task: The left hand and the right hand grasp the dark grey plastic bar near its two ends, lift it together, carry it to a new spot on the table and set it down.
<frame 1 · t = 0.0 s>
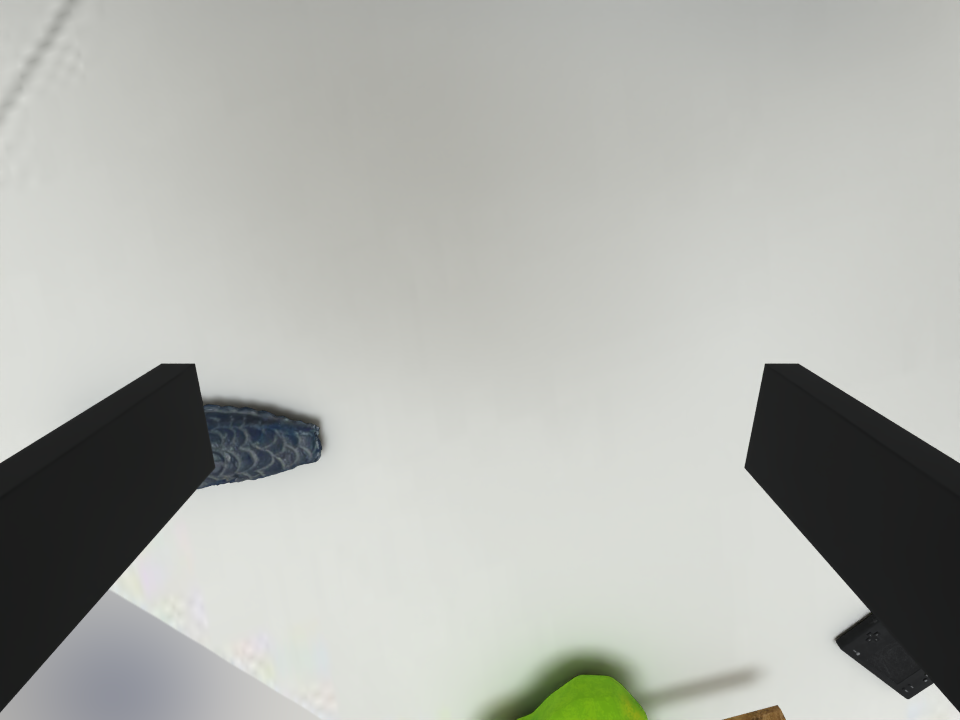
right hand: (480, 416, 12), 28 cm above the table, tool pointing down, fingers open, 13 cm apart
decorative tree: (611, 703, 55), on the table
handheld gaming console: (905, 637, 52), on the table
fish model: (201, 438, 44), on the table
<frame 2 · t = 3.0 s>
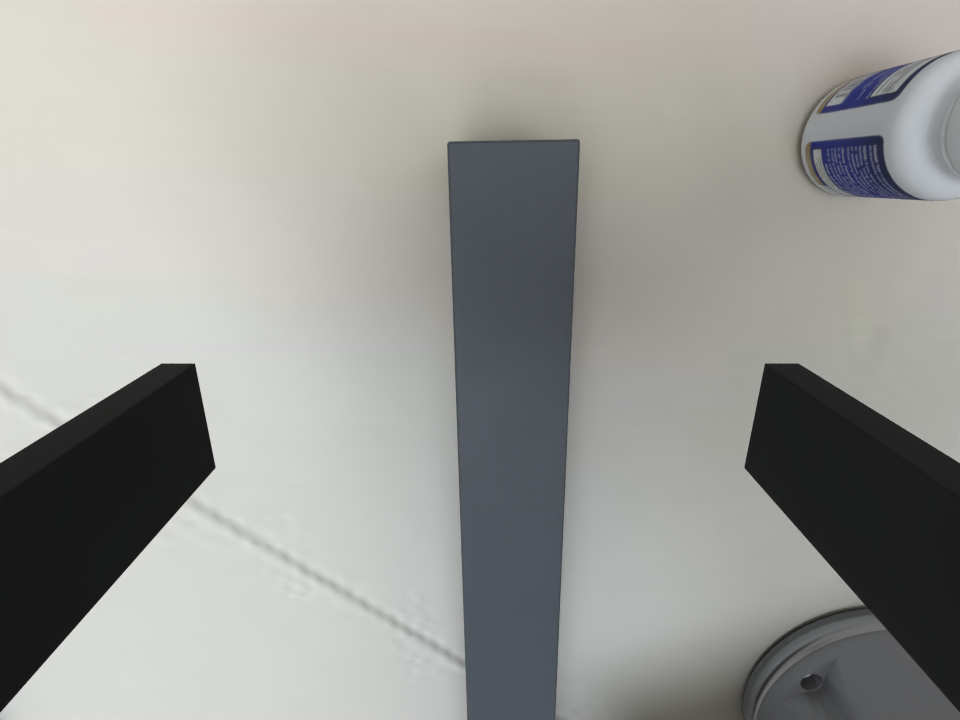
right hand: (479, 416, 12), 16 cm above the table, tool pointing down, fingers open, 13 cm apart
pill bottle: (851, 137, 25), on the table
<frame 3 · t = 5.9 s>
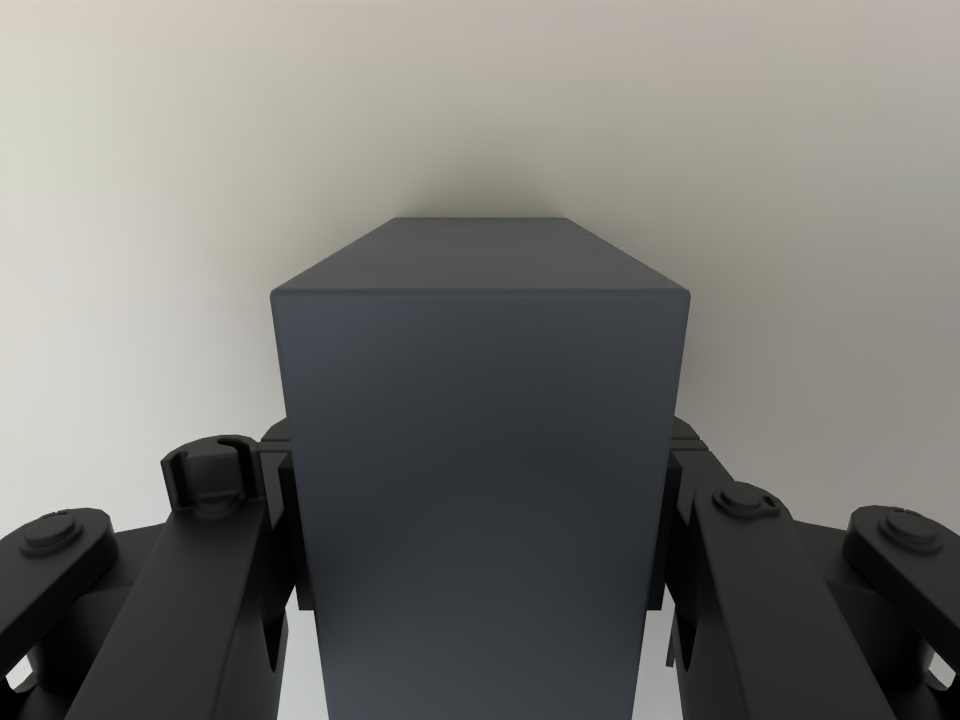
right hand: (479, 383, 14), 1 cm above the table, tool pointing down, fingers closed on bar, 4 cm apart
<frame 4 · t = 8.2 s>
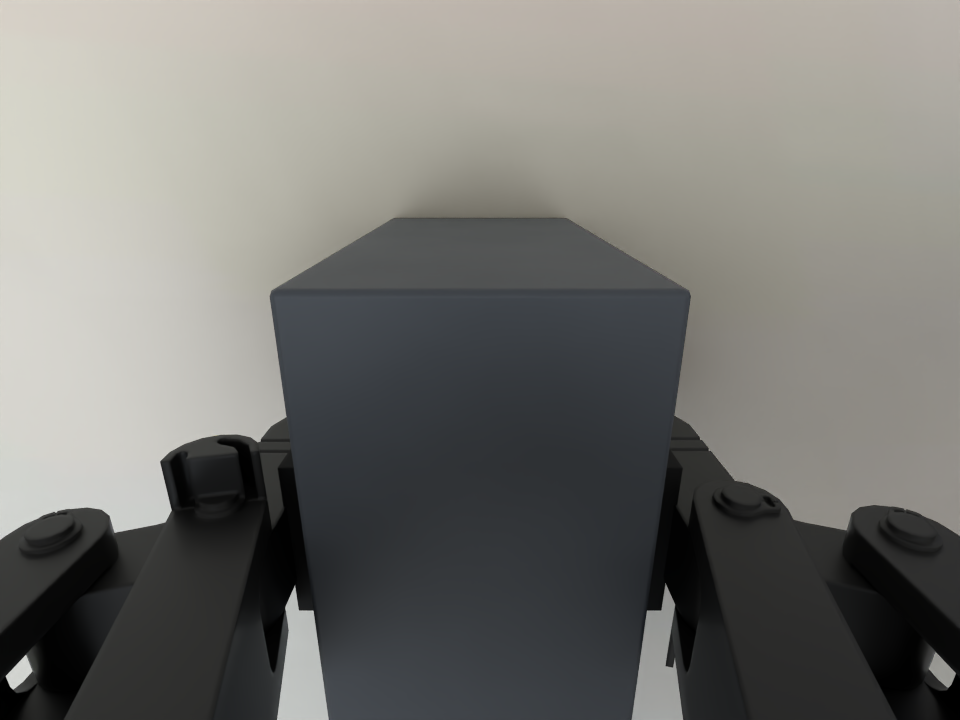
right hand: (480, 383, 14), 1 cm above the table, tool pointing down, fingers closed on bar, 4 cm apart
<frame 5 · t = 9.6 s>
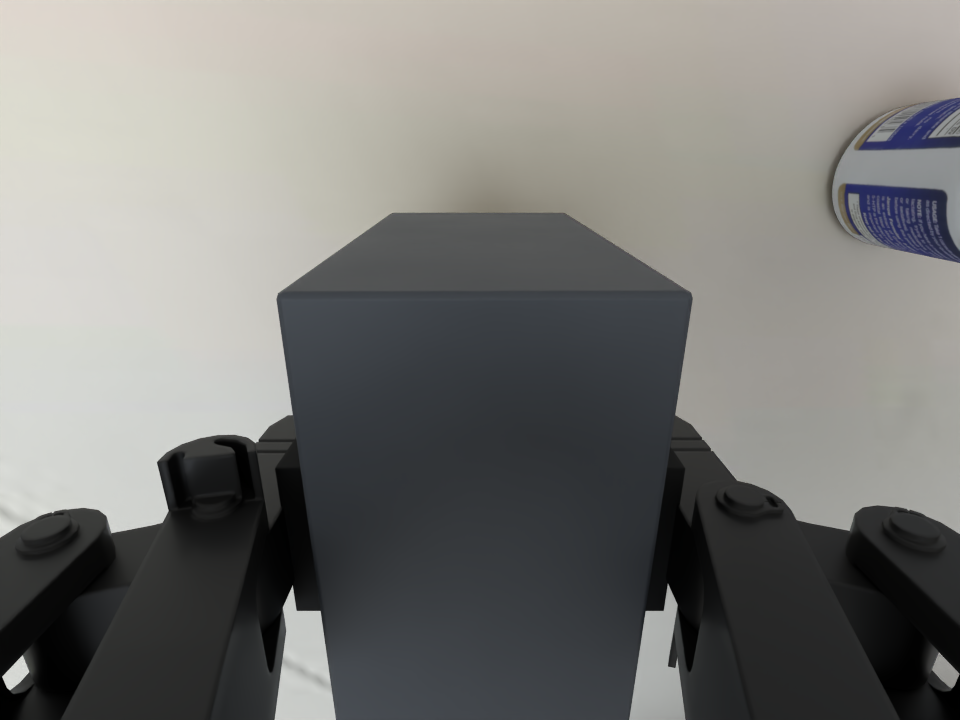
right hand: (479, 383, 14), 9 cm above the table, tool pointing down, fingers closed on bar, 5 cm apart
pill bottle: (891, 176, 21), on the table
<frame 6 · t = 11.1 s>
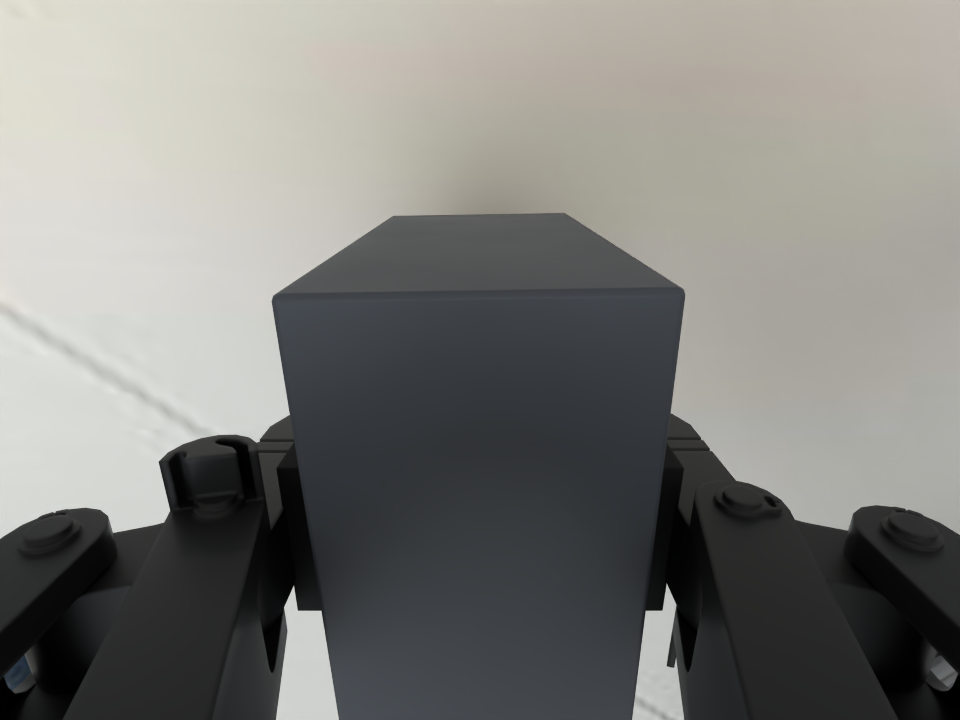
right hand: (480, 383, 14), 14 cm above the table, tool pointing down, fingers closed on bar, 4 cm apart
fish model: (71, 688, 37), on the table
when the right hand's fingers open (2 cm above the table, at t = 13.7 s): bar drops 1 cm, on the table.
when the left hand's fingers open (5 cm above the table, at t = 13.9 s): bar stays where it is, on the table.
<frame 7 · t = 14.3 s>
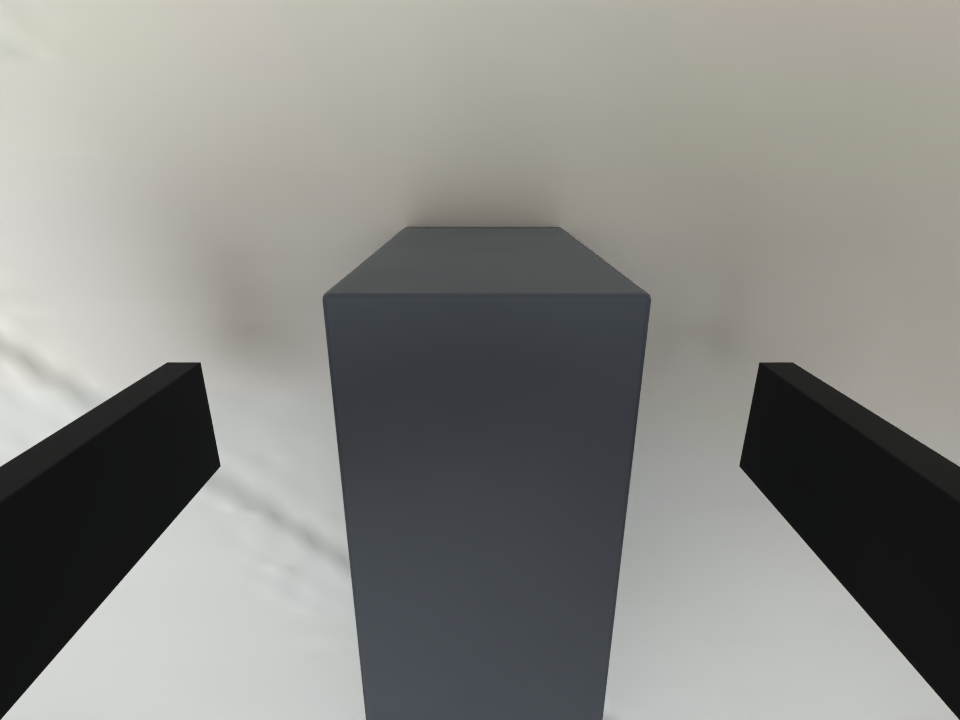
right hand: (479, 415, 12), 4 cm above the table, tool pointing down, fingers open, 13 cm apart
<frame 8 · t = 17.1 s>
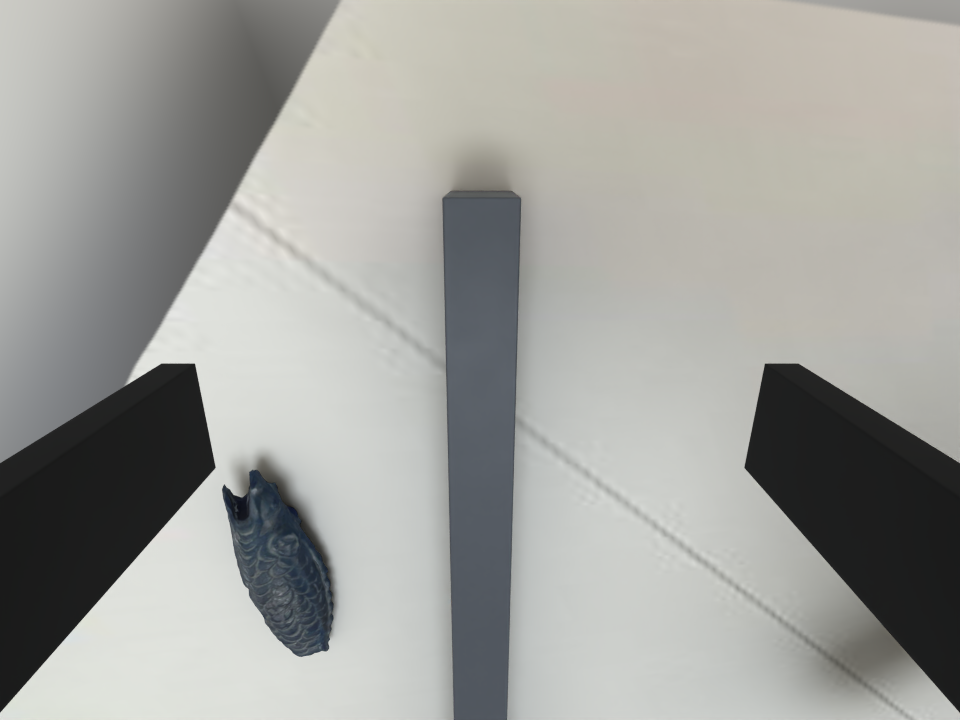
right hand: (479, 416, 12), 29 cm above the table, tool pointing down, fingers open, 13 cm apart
bar: (480, 617, 52), on the table
fish model: (289, 556, 49), on the table
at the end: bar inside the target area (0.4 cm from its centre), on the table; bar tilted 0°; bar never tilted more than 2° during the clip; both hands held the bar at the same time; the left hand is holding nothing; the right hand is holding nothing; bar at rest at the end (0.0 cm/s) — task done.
